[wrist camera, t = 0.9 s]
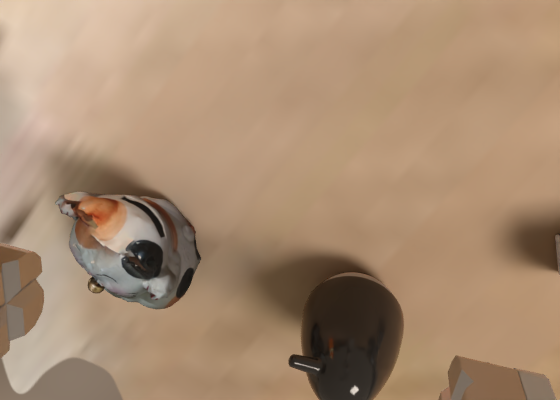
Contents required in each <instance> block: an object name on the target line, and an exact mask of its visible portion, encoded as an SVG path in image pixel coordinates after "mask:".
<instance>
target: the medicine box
mask: <svg viewBox="0 0 560 400" xmlns="http://www.w3.org/2000/svg"><path fill="white" fill-rule="evenodd" d="M555 240H556V251H557V262H558V272H559V275H560V235H555Z"/></svg>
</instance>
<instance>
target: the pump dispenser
mask: <svg viewBox="0 0 560 400" xmlns="http://www.w3.org/2000/svg"><path fill="white" fill-rule="evenodd" d="M403 331H404V318H403V312H402V309H401V307H400V304H399V303H398V301H397V299H396V298H395V297H394V296H393V294H392V293H391V292H390V290H389V289H388V288H387V287H386V286H385V285H384V284H383V283H381V282H380V281H379V280H377V279H375V278H374V277H371V276H369V275H366V274H362V273H356V272H348V273H342V274H338V275H335V276H333V277H331V278H329V279H327V280H326V281H324V282H323V283H321V284H320V285H319V286H317V287H316V288H315V289H314V290H313V291H312V292H311V294H310V295H309V297H308V299H307V301H306V303H305V306H304V310H303V315H302V325H301V346H302V354H303V356H301V355H295V354H293V355H291V356H290V358H289V366H290V367H293V368H296V369H298V370H301V371H304V372H306V373H307V377H308V380H309V383H310V385H311V387H312V389H313V391H314V393H315V395H316V396H317V398H318V399H319V400H373V399H374V398H375V397H376V396H377V395H378V393H379V392H380V391H381V389H382V388H383V387H384V385H385V383H386V382H387V380H388V378H389V377H390V375H391V373H392V371H393V368H394V366H395V364H396V361H397V358H398V355H399V351H400V347H401V343H402V338H403Z"/></svg>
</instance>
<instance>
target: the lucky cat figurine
mask: <svg viewBox="0 0 560 400" xmlns="http://www.w3.org/2000/svg"><path fill="white" fill-rule="evenodd" d="M55 204H56V205H57V204H58V205H59V208H60V211H61V213H62V214H66V215H68V216H69V217H73V219H74V220H75V223H74V225H73V228H72V231H71V235H70V241H69V246H70V249H71V251H72V253H73V256H74V257H75V259H76V261H77V262H78V263H79V264H80V265H81V267H82V268H84V269H85V270H86V271H87V272H88V274H89V275H91V276H92V278H90V279H89V281H88V288H89V290H90V291H91V292H93V293H100V292H102V291H103V290H104V289H105V290H106V291H107V292H108V293H110V294H112V295H113V296H115V297H118V298H122V299H123V300H126V301H127V302H139V303H140V304H142V305H143V306H146V307H148V308H153V309H164V308H168V307H170V306H172V305H173V304H174V303H176V302H177V301H178V300H179V299H180V298H181V297H183V296H184V294H185V293H186V291H187V290H188V288H189V286H190V284H191V281H192V278H193V275H194V273H195V271H196V269H197V266H198V264H199V263H200V260H201V257H200V255H199V252H198V250H197V247H196V240H195V233H196V231H195V230H194V227H193V226H192V225H191V224H190V223H189V222H188V221H187V220H186V219H185V218H184V217H183V216H182V215H181V213H180V212H179V211H178V209H177V208H176V207H175V206H174V205H173V204H171V203H170V202H169V201H167V200H165V199H155V198H150V197H148V196H142V197H140V196H136V195H105V194H91V193H87V192H80V191H79V192H74V193H70V194H65V195H61V196H60V197H59V199H58V200H57V201H56V202H55Z"/></svg>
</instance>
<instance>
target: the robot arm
mask: <svg viewBox="0 0 560 400" xmlns="http://www.w3.org/2000/svg"><path fill="white" fill-rule="evenodd" d="M41 272H42V265H41V257H40V256H39V255H38V254H36V253H35V252H33V251H29V250H25V249H22V248H18V247H14V246H10V245H7V244H3V243H0V359H1V358H2V357H3V356H4V355H5V354H6V353H7V352H8V351H9V348H10V341H11V340H14V339H16V338H19V337H22V336H25V335H26V334H27V333H28V332H29V331H30V330H31V329H32V328H33V327H34V326H35V324H36V322H37V320H38V318H39V316H40V315H41V313H42V308H43V303H44V291H43V289H42V287H41V286H40V284H39V283H38V282H37V280H36V278H37V277H38V276H39V275H40V274H41ZM448 379H449V387H448V388H446V389H444V390H443V391H441V393H440V396H439V400H557V399H556V397H555V394H554V392H553V389H552V387H551V384H550V381H549V379H548V378H547V377H546V376H545V375H544V374H539V373H534V372H530V371H525V370H520V369H516V368H514V369H511V368H507V367H503V366H499V365H495V364H490V363H486V362H482V361H478V360H474V359H469V358H465V357H461V356H457V355H456V356H455V357H454V359H453V361H452V362H451V365H450V368H449V371H448Z"/></svg>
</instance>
